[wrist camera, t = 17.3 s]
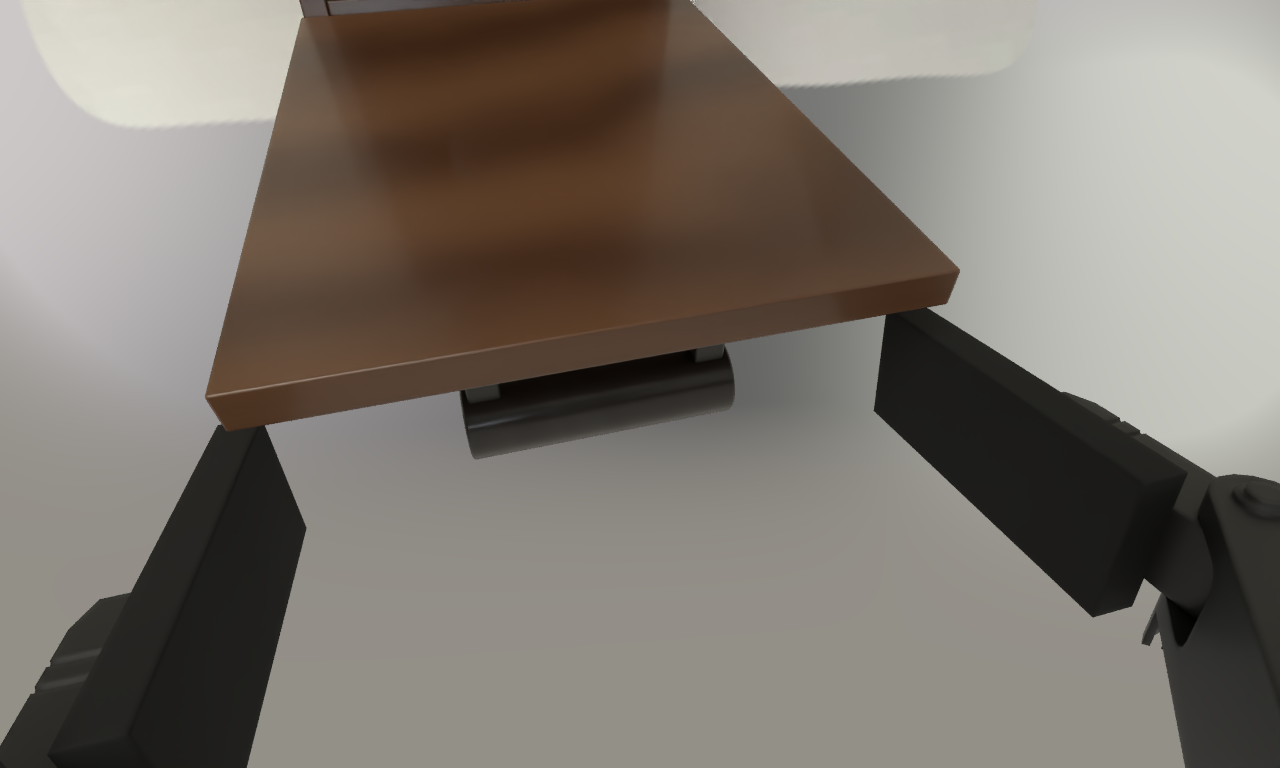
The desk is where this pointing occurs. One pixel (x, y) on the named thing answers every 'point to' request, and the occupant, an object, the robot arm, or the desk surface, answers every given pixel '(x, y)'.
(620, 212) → the box lid
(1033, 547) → the robot arm
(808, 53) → the desk surface
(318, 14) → the storage box
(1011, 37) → the desk surface
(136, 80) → the desk surface
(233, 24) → the desk surface
